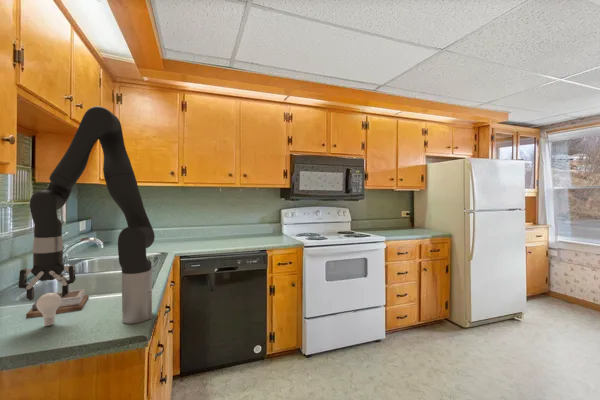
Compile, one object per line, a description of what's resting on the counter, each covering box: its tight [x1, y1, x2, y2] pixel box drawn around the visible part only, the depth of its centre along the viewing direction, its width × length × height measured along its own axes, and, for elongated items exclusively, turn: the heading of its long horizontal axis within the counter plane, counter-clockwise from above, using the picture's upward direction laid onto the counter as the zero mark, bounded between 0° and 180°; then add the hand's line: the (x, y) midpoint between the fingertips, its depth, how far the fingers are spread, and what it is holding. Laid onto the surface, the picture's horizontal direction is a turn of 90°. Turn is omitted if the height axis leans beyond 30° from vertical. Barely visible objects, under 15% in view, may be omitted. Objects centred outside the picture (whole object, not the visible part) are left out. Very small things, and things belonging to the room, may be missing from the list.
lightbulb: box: [36, 292, 61, 327], centre depth 97 cm, size 6×6×11 cm
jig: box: [25, 288, 90, 319], centre depth 113 cm, size 16×14×4 cm
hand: (48, 297), depth 97 cm, fingers open, 8 cm apart
